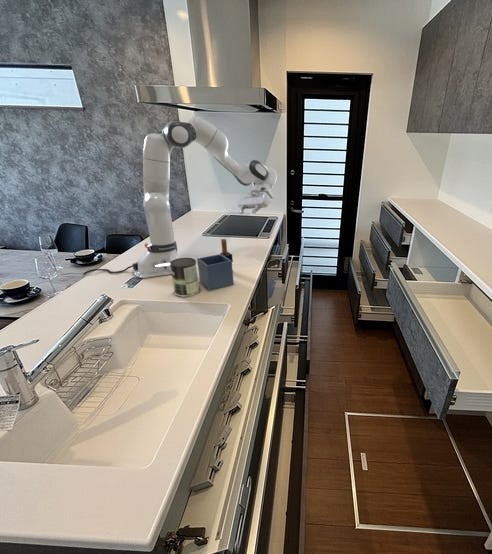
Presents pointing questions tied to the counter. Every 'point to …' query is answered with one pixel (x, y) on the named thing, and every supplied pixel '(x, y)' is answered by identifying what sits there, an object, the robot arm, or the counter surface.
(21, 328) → the counter surface
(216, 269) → the bin
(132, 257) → the counter surface
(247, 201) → the robot arm
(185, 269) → the coffee can
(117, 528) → the counter surface
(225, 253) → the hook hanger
